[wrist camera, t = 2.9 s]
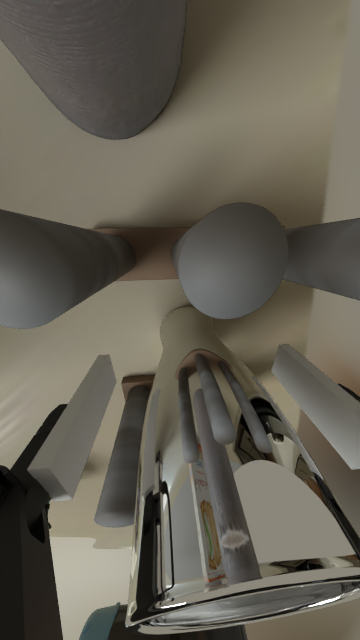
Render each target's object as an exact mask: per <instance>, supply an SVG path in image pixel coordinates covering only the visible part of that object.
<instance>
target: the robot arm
mask: <svg viewBox="0 0 360 640" xmlns="http://www.w3.org/2000/svg"><path fill="white" fill-rule="evenodd" d="M271 372H272V373H273V374H274V376H275V377H276V378H277V379H278V380H279V382H280V383H281V384H282V385H283V387H284V388H285V389H286V390H287V391H288V393H289V394H290V395H291V396H292V397H293V399H294V400H295V401H296V402H297V404H298V405H299V406H300V407H301V408H302V410H303V411H304V412H305V413H306V414H307V416H308V417H309V418H310V419H311V421H312V422H313V423H314V424H315V425H316V426H317V428H318V429H319V430H320V431H321V433H322V434H323V435H324V436H325V438H326V439H327V440H328V441H329V442H330V444H331V445H332V446H333V447H334V448H335V450H336V451H337V452H338V453H339V455H340V456H341V457H342V458H343V459H344V461H345V462H346V463H347V464H348V465H349V467H350V468H351V469H360V397H359V396H358V395H356V394H355V393H354V392H353V391H351V390H350V389H348V388H346V387H344V386H343V385H341V384H336V383H335V382H334V381H333V380H331V379H330V378H329V377H328V376H327V375H325V374H324V373H323V372H322V371H320V370H319V369H318V368H317V367H316V366H314V365H313V364H312V363H311V362H309V361H308V360H307V359H306V358H305V357H303V356H302V355H301V354H300V353H298V352H297V351H296V350H295V349H294V348H292V347H291V346H290V345H289V344H284V345H279V347H278V350H277V353H276V357H275V360H274V363H273V367H272V370H271ZM115 384H116V378H115V374H114V371H113V367H112V363H111V359H110V355H99V356H98V357H97V359H96V360H95V362H94V364H93V365H92V367H91V368H90V370H89V372H88V373H87V375H86V376H85V378H84V380H83V381H82V383H81V384H80V386H79V388H78V389H77V391H76V392H75V394H74V396H73V397H72V399H71V400H70V402H69V404H61V405H59V406H58V407H56V408H55V409H54V410H53V411H52V412H51V413H50V414H49V415H48V417H47V418H46V420H45V421H44V422H43V424H42V426H41V427H40V428H39V430H38V431H37V432H36V435H34V437H33V438H32V440H31V441H30V442H29V444H28V445H27V447H26V448H25V450H24V451H23V452H22V454H21V455H20V457H19V458H18V460H17V461H16V462H15V464H14V465H13V467H12V468H11V470H9V469H8V468H7V467H5V466H2V465H1V466H0V640H63V635H62V628H61V620H60V614H59V606H58V598H57V591H56V583H55V576H54V568H53V561H52V553H51V546H50V539H49V531H48V523H47V516H46V510H45V508H44V506H45V504H46V502H47V500H48V498H49V496H50V497H51V498H52V499H53V501H62V500H71V499H73V496H74V494H75V491H76V488H77V486H78V483H79V480H80V478H81V475H82V472H83V470H84V467H85V464H86V462H87V459H88V456H89V454H90V451H91V448H92V446H93V443H94V440H95V438H96V435H97V432H98V430H99V427H100V424H101V422H102V419H103V416H104V414H105V411H106V408H107V406H108V403H109V400H110V398H111V395H112V392H113V390H114V387H115ZM127 608H128V604H127V605H120V602H119V603H117V604H116V605H114V606H110V607H105V608H100V609H97V610H96V611H94V612H93V613H92V614H91V615H90V616H89V618H88V620H87V621H86V623H85V625H84V628H83V630H82V633H81V635H80V638H79V640H248V639H247V634H246V630H245V625H244V624H243V625H237V626H231V627H224V628H217V629H210V630H203V631H195V632H186V633H176V634H163V635H137V634H132V633H129V632H127V630H126V628H125V619H126V615H127Z"/></svg>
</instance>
